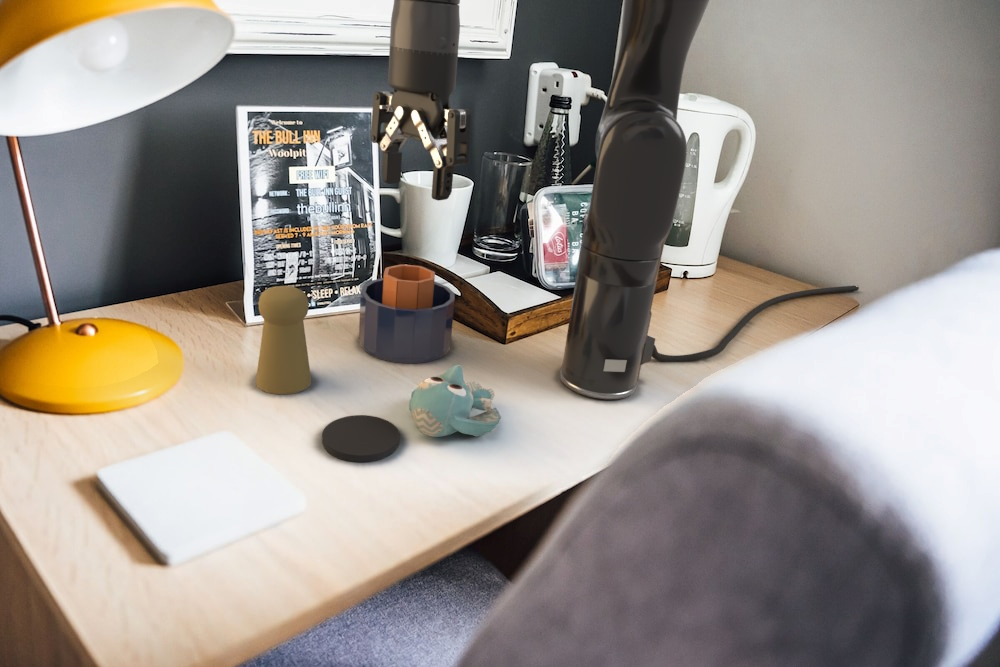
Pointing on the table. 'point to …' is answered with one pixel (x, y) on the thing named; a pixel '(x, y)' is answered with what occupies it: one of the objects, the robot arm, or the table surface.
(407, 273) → the copper pot
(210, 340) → the table surface
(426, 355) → the big pot
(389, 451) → the disc
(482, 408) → the stuffed animal
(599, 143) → the robot arm
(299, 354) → the olive brown pawn
